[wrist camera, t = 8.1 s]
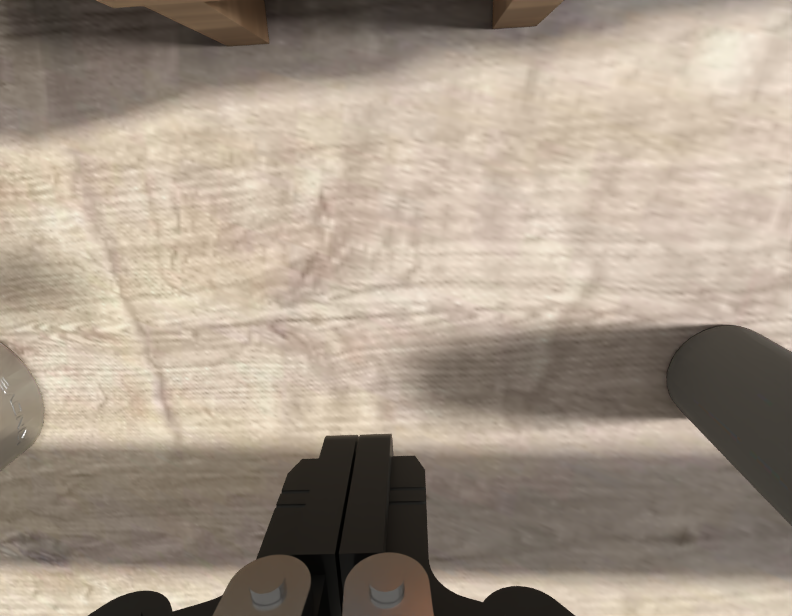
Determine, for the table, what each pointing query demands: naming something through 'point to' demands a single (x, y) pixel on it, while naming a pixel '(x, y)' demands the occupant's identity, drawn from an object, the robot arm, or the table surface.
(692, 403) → the bottle
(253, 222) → the table surface
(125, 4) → the bridge
